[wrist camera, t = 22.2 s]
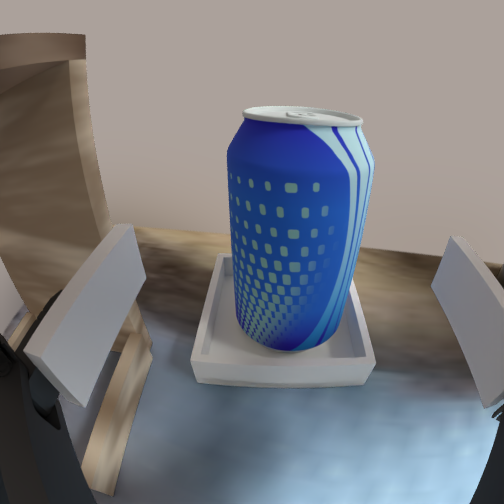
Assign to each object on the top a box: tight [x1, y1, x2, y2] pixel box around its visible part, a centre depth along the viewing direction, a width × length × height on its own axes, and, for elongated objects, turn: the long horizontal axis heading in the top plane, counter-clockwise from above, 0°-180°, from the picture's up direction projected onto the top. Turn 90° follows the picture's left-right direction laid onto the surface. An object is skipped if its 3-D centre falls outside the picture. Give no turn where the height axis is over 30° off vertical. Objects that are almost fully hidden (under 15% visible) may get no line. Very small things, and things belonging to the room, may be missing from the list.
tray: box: [190, 253, 376, 388], centre depth 23 cm, size 12×12×3 cm
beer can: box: [227, 106, 375, 353], centre depth 18 cm, size 8×8×16 cm
